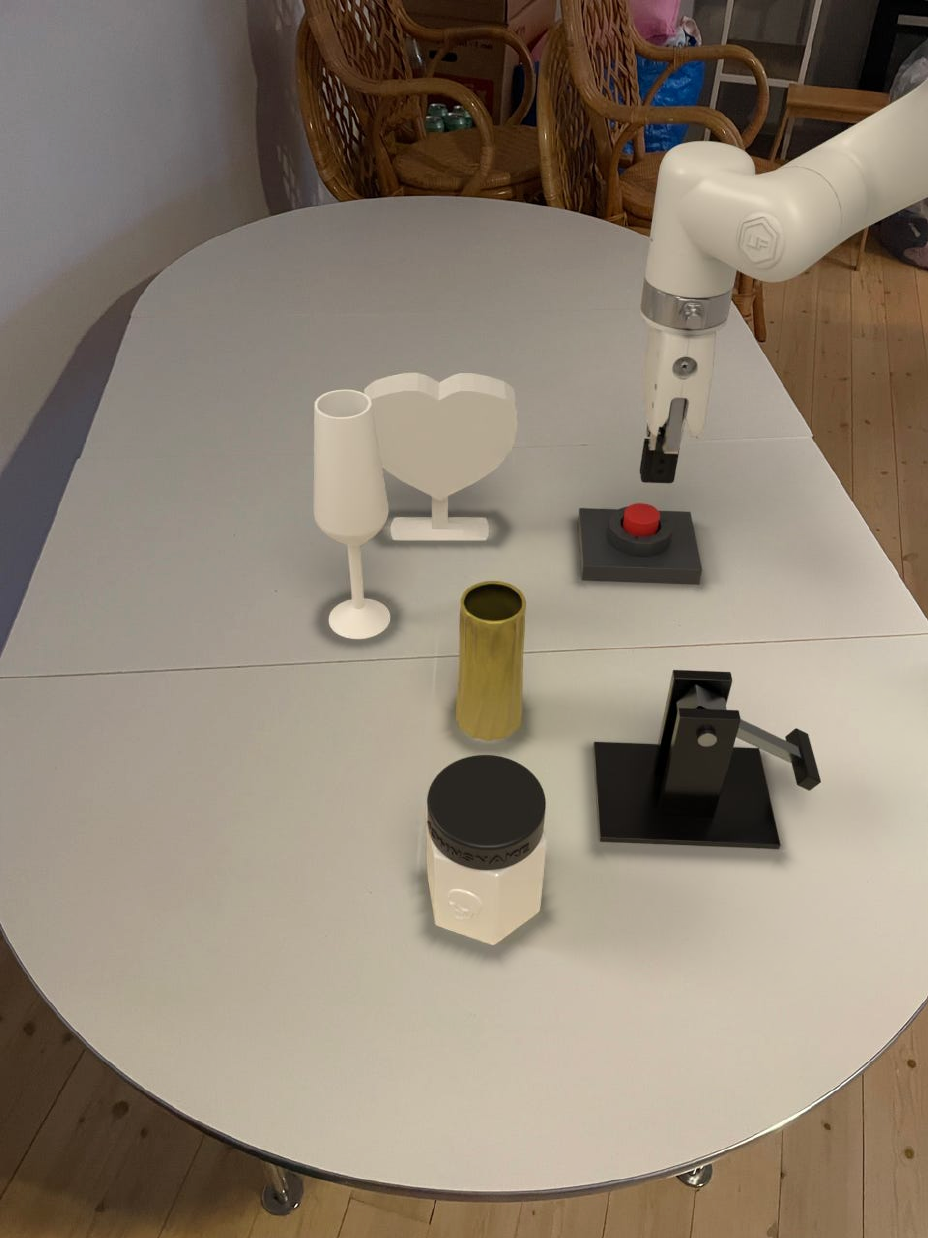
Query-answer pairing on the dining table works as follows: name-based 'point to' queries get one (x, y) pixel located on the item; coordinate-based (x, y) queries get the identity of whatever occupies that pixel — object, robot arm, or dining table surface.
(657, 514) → the button
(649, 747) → the bracket
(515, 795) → the jar
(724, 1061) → the dining table surface
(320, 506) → the champagne flute
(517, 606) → the vase
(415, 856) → the dining table surface
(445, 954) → the dining table surface
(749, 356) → the dining table surface
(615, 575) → the switch block
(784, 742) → the lever
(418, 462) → the heart sculpture
